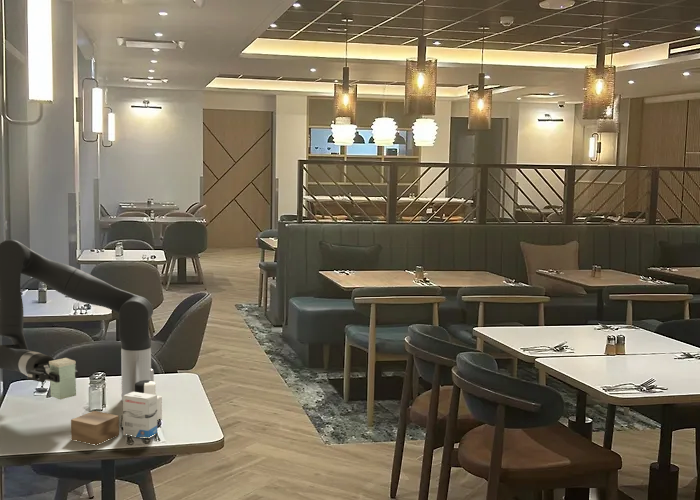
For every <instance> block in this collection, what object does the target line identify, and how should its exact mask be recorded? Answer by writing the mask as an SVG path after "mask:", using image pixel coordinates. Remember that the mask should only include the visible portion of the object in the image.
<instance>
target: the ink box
mask: <svg viewBox="0 0 700 500" xmlns="http://www.w3.org/2000/svg"><path fill="white" fill-rule="evenodd" d="M157 396H158V395H157V394H156V395H153V394H146V393H139V392H131V393H128V394H126V395H124V396H123V401H122V428H123V429H122V431H123V433H122V434H123V436H124V435H126V434H128V435H132V436H136V437H150V436H152V435H154V434H156V433H157V434H158V421H157ZM136 437H135V438H136Z"/></svg>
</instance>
